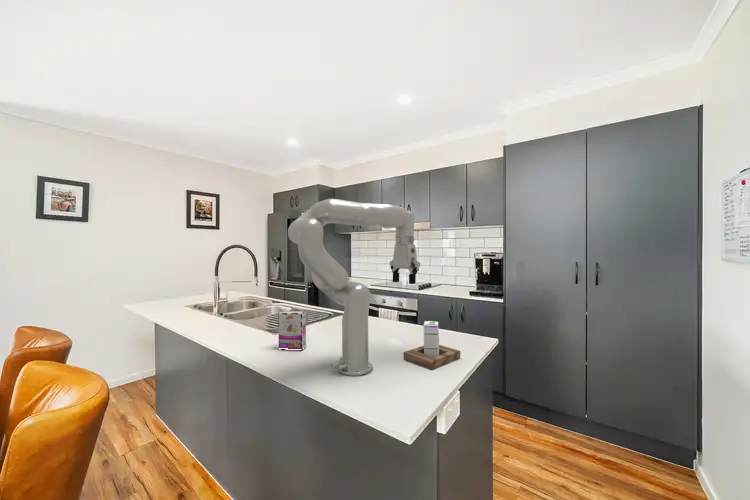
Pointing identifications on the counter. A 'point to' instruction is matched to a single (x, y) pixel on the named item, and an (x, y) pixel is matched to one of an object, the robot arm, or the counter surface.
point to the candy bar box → (292, 329)
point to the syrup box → (431, 338)
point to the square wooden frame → (431, 362)
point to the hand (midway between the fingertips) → (403, 282)
